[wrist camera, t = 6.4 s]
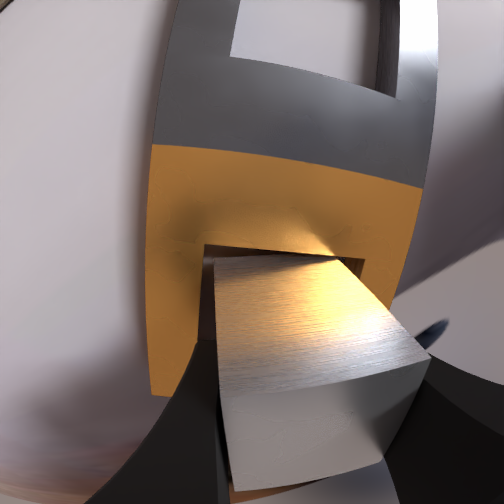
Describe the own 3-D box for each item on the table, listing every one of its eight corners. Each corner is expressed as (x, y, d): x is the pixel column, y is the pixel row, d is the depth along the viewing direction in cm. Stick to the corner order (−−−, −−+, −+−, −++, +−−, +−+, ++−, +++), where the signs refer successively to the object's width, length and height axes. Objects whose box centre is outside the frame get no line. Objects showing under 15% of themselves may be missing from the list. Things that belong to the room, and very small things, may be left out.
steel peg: (329, 250, 10) (431, 358, 5) (320, 342, 12) (380, 461, 6) (213, 258, 10) (220, 397, 4) (221, 353, 11) (234, 491, 6)
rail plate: (415, -12, 8) (433, -22, 6) (342, 374, 14) (353, 394, 12) (209, -70, 6) (209, -90, 5) (155, 371, 12) (151, 394, 11)
